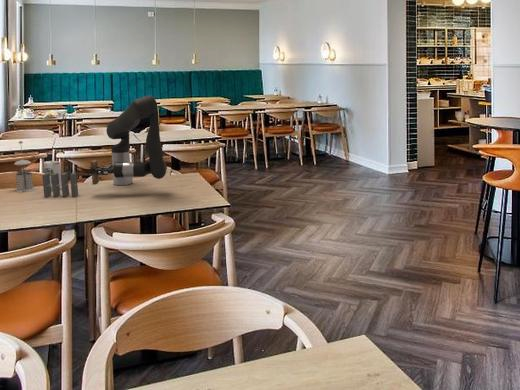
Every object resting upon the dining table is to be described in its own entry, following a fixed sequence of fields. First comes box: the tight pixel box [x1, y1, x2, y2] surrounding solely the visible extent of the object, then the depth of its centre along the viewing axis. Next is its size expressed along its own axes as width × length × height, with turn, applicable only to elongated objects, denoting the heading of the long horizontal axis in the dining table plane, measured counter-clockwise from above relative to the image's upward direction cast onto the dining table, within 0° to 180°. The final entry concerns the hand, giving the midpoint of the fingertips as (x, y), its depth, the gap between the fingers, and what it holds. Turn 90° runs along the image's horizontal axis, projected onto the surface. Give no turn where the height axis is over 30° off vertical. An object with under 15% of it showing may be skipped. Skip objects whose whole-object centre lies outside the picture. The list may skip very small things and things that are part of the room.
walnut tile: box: [90, 159, 100, 186], centre depth 270 cm, size 2×5×11 cm, turn 3°
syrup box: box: [43, 160, 62, 192], centre depth 285 cm, size 6×6×14 cm
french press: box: [13, 140, 36, 192], centre depth 284 cm, size 10×12×25 cm
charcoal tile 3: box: [61, 172, 70, 198], centre depth 270 cm, size 2×5×11 cm, turn 3°
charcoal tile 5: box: [41, 172, 52, 198], centre depth 270 cm, size 2×5×11 cm, turn 3°
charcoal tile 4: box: [52, 173, 61, 198], centre depth 270 cm, size 2×5×11 cm, turn 3°
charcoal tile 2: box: [69, 172, 79, 198], centre depth 270 cm, size 2×5×11 cm, turn 3°
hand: (89, 170), depth 269 cm, fingers closed on walnut tile, 5 cm apart
